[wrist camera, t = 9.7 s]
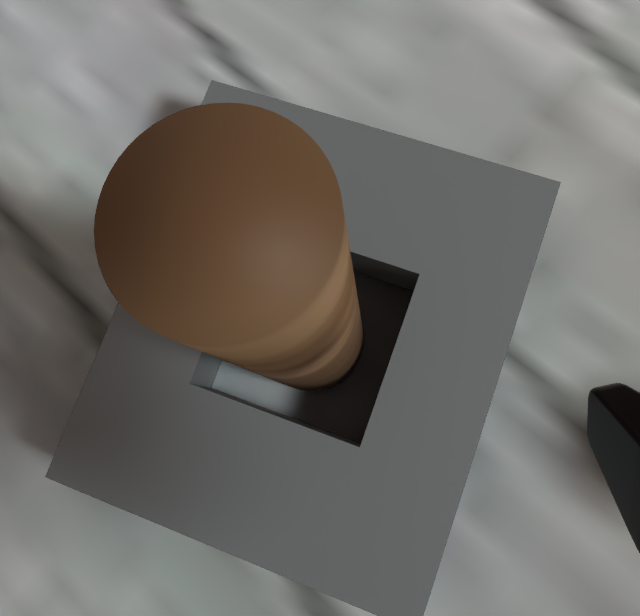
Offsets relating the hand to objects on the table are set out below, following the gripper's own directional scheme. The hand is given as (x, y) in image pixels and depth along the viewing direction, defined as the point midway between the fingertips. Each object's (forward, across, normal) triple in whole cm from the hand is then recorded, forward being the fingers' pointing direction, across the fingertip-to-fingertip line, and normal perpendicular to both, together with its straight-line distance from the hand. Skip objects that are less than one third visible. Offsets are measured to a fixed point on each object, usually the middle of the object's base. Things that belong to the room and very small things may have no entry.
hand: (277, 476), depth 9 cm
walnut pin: (+11, 0, +6) cm, 13 cm away
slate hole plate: (+11, 0, +6) cm, 13 cm away
